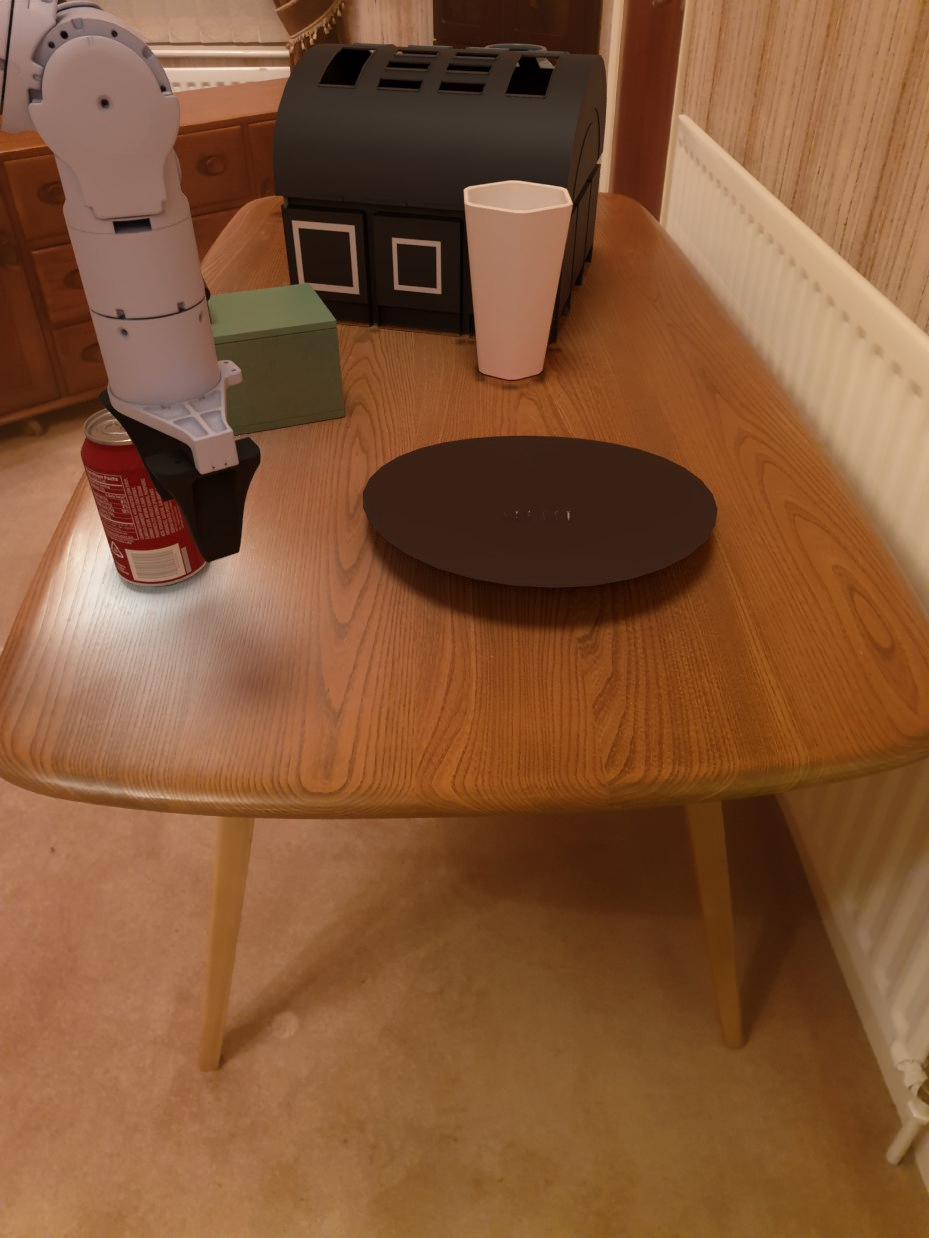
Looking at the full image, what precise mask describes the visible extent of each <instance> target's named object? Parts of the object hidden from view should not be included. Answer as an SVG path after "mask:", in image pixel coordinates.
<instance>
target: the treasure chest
mask: <svg viewBox="0 0 929 1238" xmlns="http://www.w3.org/2000/svg"><path fill="white" fill-rule="evenodd" d="M399 52H400V53H399ZM537 58H547V59H557V60H556V63H555V65H552V66H540V64H539V62H538V59H537ZM517 63H518V64H519V65H517ZM607 82H608V81H607V70H606V63H605V60H604V58H603V56H602V55H601V54H585V53H584V54H583V53H570V52H569V51H559V50H558V51H557V50H556V51H555V50H547V51H535V50H528V52H515V51H510V49H501V48H485V47H474V46H468V47H467V46H466V47H465V48H454V46H450V45H428V44H427V45H426V44H408V45H407V46H397V45H396V44H394V43H389V44H388V43H370V42H369V43H368V42H367V43H365V42H353V43H352V44H350V43H349V44H348V43H318V44H317V43H316V44H315V45H314V46H312V47H310V48H309V49H307V50H305V51H304V53H303V54H302V55H301V56H300V58H299V59H298V61H297V62H296V63H295V64H294V66H293V68H292V71H291V72H290V75H289V77H288V78H287V81H286V82H285V85H284V89H283V92H282V95H281V97H280V101H279V105H278V106H277V107H278V108H277V111H276V112H277V113H276V117H275V123H274V127H273V135H272V136H273V141H272V172H273V173H272V174H273V185H274V194H275V197H282V199H283V203H282V204H280V211H281V219H282V226H283V234H284V235H283V236H284V243H285V251H286V260H287V268H288V275H289V285H297V284H305V283H309V284H310V285H311V287H312V288H313V289H314V291H315V292H316V293H317V295H318V296H319V297H320V299H321V300H322V301H323V303H324V304H325V306H326V307H327V308H328V310H329V311H330V312H331V314H332V315H333V316H334V318H335V319H336V322H337V325H347V326H357V327H365V328H371V327H372V325H378V329H382V330H383V329H384V330H394V331H404V332H412V333H422V334H431V335H439V336H440V335H441V336H449V337H461V336H462V335H463V334H467V335H468V338H470V339H476V331H475V320H474V308H473V296H472V285H471V273H470V262H469V250H468V238H467V227H466V215H465V204H464V189H465V188H467V187H469V186H476V185H483V184H490V183H497V182H503V181H524V182H531V183H538V184H545V185H551V186H558V187H563V188H565V189H567V190H568V193H569V195H570V198H571V200H572V203H573V206H572V212H571V217H570V223H569V228H568V234H567V239H566V244H565V250H564V255H563V261H562V266H561V272H560V277H559V282H558V288H557V293H556V299H555V304H554V310H553V315H552V320H551V326H550V331H549V337H548V342H547V345H549V344H557V343H558V340H559V339H560V336H561V334H562V332H563V330H564V327H565V325H566V323H567V320H568V317H569V314H570V313H571V311H572V309H573V306H574V304H575V301H576V299H577V297H578V294H579V292H580V290H581V287H582V284H583V283H584V281H585V278H586V277H587V274H588V271H589V269H590V267H591V265H592V260H593V249H594V240H595V231H596V230H595V229H596V219H597V210H598V198H599V191H600V190H599V189H600V179H601V169H602V164H601V163H598V161H599V159H600V158H601V156H602V154H603V153H604V148H605V147H604V146H605V136H606V135H605V134H606V121H607V106H608V105H607V104H608V89H607V88H608V83H607Z"/></svg>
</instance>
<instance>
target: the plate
mask: <svg viewBox="0 0 929 1238" xmlns="http://www.w3.org/2000/svg"><path fill="white" fill-rule="evenodd" d="M362 509H363V511H364V513H365V515H366V518H367V520H368V522H369V524H370V526H372V527H373V528H374V530H375V531H376V532H378V534H379V535H380V536H381V537H382V538H383V539H384V541H386V542H388V543H389V544H390V545H392V546H393V547H395V548H396V549H398V550H400V551H401V552H402V553H404V554H406V555H407V556H409V557H411V558H412V559H413V558H414V559H415V560H418V561H420V562H422V563H424V564H427V565H429V566H431V567H433V568H436V569H438V570H442V571H445V572H449V573H451V574H455V575H458V576H462V577H465V578H468V579H472V580H478V581H482V582H491V583H495V584H501V585H506V586H507V585H508V586H516V587H532V588H550V589H554V588H555V589H559V588H575V587H593V586H601V585H606V584H610V583H616V582H622V581H623V582H624V581H629V580H633V579H637V578H639V577H642V576H645V575H649V574H651V573H655V572H659V571H661V570H664V569H666V568H667V567H670V566H671V565H673V564H676V563H678V562H679V561H681V560H683V559H685V558H687V557H689V556H690V555H691V554H692V553H694V552H695V551H696V550H697V549H699V548H700V547H701V546H702V545H703V544H704V543H706V541H707V540H708V538H709V536H710V535H711V533H712V531H713V530H714V528H715V527H716V525H717V518H718V506H717V503H716V500H715V496H714V494H713V492H712V491H711V490H710V489H709V488H708V486H707V485H706V484H705V483H704V481H703V480H702V479H701V478H699V477H698V476H697V475H695V474H694V473H693V472H691V471H690V470H688V469H687V468H686V467H684V466H682V465H680V464H679V463H676V462H674V461H672V460H670V459H668V458H666V457H664V456H662V455H661V456H660V455H659V454H655V453H652V452H650V451H646V450H643V449H640V448H636V447H631V446H627V445H622V444H618V443H615V442H607V441H602V440H594V439H588V438H578V437H567V436H555V435H553V436H552V435H494V436H483V437H470V438H469V437H468V438H462V439H456V440H450V441H443V442H440V443H435V444H432V445H427V446H424V447H423V446H422V447H419V448H417V449H414V450H411V451H408V452H406V453H404V454H401V455H398V456H396V457H394V458H393V459H391V460H390V461H388V462H386V463H385V464H383V465H381V466H380V467H379V468H378V469H377V470H376V471H375V472H374V473H373V474H372V475H371V476H370V477H369V478H368V480H367V482H366V485H365V486H364V489H363V491H362Z"/></svg>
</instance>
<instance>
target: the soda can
mask: <svg viewBox="0 0 929 1238" xmlns="http://www.w3.org/2000/svg"><path fill="white" fill-rule="evenodd" d="M82 430H83V434H84V436H85V438H84V440H83V443H82V444H81V448H80V458H81V461H82V465H83V468H84V471H85V475H86V477H87V481H88V483H89V486H90V490H91V493H92V496H93V500H94V502H95V507H96V509H97V513H98V516H99V518H100V521H101V525H102V528H103V531H104V535H105V538H106V540H107V544H108V548H109V551H110V553H111V555H112V556H111V557H112V559H113V563H114V566H115V570H116V572H117V574H118V575H119V577H121V579H123V580H124V581H126V582H128V583H130V584H132V585H136V586H139V587H150V588H151V587H152V588H153V587H154V588H155V587H164V586H165V587H166V586H171V585H174V584H177V583H180V582H183V581H185V580H188V579H189V578H191V577H193V576H194V575H196V574H198V573H199V572H200V571H201V570H202V569H203V568H204V567H205V566H206V564H207V563H208V562H206V561H205V560H204V558H203V557H202V555H201V554H200V552H199V551H198V549H197V547H196V546H195V544H194V542H193V539H192V537H191V535H190V532H189V530H188V527H187V525H186V523H185V520H184V518H183V515H182V513H181V511H180V509H179V507H178V505H177V503H176V502H175V500H174V499H172V500H169V501H165V502H164V501H163V499H162V498H161V497H160V495H159V494H158V492H157V491H156V489H155V487H154V485H153V483H152V482H151V480H150V478H149V475H148V473H147V471H146V469H145V467H144V465H143V463H142V461H141V459H140V456H139V454H138V452H137V450H136V448H135V446H134V445H133V443H132V441H131V439H130V437H129V436H128V434H127V432H126V431H125V429H124V428H123V426H122V425H121V424H120V423H119V422H118V420H117V419H116V418H115V417H114V416H113V415H112V414H111V413H110V412H109V411H108V410H107V409H106V408H103V409H101V410H99V411H96V412H94V413H93V414H91V415H90V416H89V417H88V418H86V420H85V421H84V423H83V425H82Z"/></svg>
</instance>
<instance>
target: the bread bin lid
mask: <svg viewBox="0 0 929 1238" xmlns="http://www.w3.org/2000/svg"><path fill="white" fill-rule="evenodd" d="M202 278H203V283H204V288H205V295H206V300H207V306H208V311H209V317H210V323H211V328H212V334H213V339H214V344H220V343H227V342H235V341H242V340H249V339H256V338H264V337H271V336H278V335H285V334H292V333H300V332H307V331H314V330H321V329H328V328H338V324H337V322H336V319H335V318H334V316H333V315H332V314H331V312H330V311H329V310H328V308H327V307H326V306H325V304H324V303H323V301H322V300H321V299H320V297H319V296H318V295H317V293H316V292H315V291H314V289H313V288H312V287H311V285H310V284H309V283H305V284H297V285H290V284H289V285H282V286H273V287H266V288H258V289H249V290H241V291H233V292H224V293H217V294H211V291H210V289H209V287H208V285H207V283H206V281H205V278H204V276H203V275H202Z"/></svg>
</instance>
